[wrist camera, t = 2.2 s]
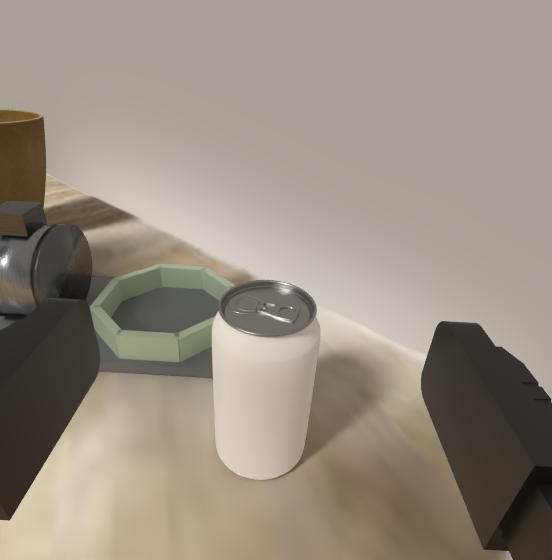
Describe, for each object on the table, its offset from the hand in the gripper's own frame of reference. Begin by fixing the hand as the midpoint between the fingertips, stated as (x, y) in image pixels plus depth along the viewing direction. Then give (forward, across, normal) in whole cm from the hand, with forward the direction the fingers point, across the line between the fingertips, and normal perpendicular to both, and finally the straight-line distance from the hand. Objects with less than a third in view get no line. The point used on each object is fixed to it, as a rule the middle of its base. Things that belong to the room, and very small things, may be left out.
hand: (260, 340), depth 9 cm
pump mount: (+24, +15, +18) cm, 34 cm away
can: (+11, 0, +19) cm, 22 cm away
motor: (+24, +23, +17) cm, 37 cm away
